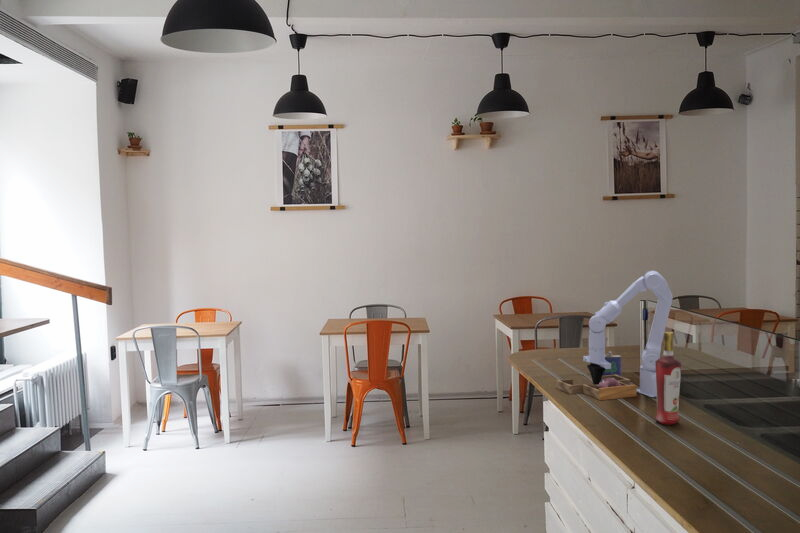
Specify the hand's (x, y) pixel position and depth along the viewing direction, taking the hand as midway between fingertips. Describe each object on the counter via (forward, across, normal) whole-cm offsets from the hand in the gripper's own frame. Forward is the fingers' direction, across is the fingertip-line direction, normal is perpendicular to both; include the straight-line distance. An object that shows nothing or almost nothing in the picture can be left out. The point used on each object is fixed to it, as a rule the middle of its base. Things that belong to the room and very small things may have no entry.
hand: (596, 384), depth 233 cm
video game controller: (+2, +8, +1) cm, 8 cm away
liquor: (+2, +41, -3) cm, 41 cm away
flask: (+2, -13, +15) cm, 20 cm away
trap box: (+2, +3, 0) cm, 3 cm away
